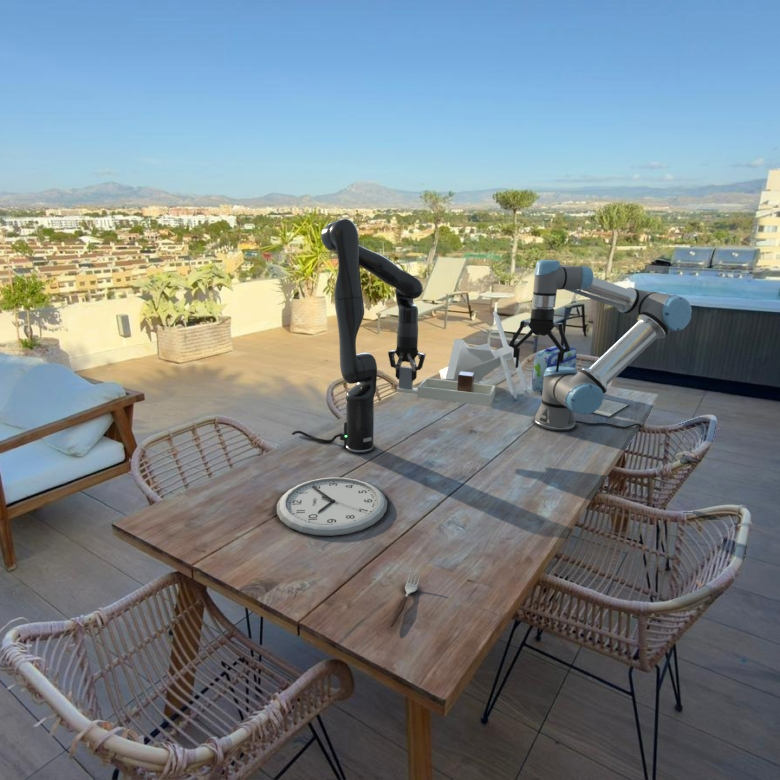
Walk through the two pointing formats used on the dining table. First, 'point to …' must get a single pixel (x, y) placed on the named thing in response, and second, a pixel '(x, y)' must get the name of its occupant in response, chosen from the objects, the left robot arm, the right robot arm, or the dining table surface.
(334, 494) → the wall clock
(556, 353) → the lunch box
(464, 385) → the walnut block
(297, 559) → the dining table surface
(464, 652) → the dining table surface
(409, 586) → the fork
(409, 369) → the tray
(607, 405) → the invitation card
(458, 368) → the white plastic object
